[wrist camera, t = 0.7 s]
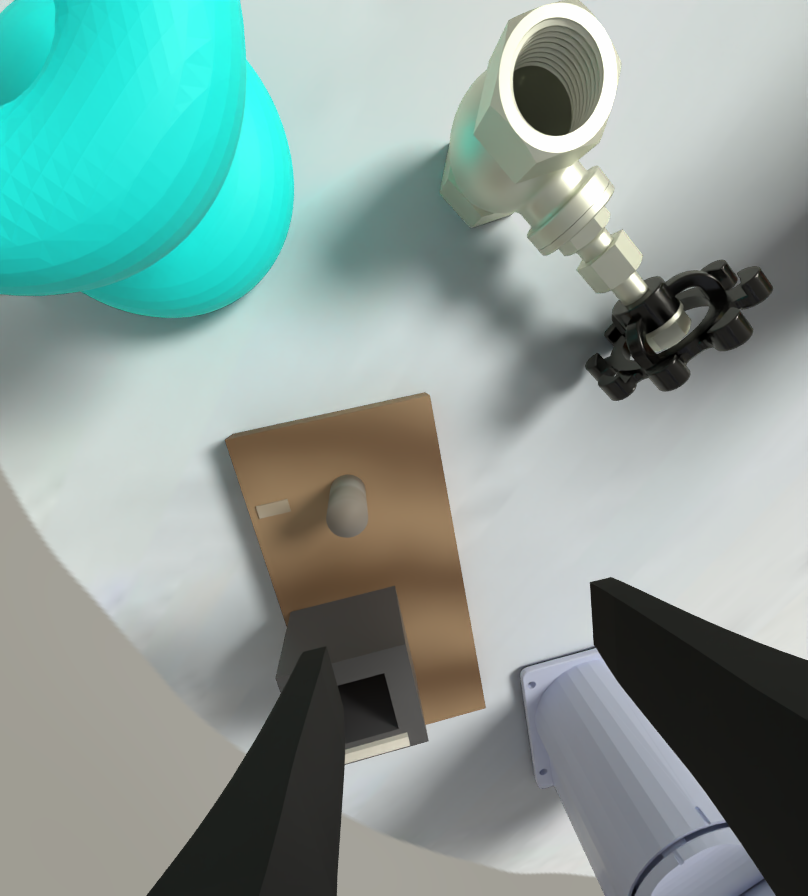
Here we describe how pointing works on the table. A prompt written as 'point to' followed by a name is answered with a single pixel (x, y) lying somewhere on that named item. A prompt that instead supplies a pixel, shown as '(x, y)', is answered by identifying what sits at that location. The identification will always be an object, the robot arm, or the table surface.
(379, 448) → the board
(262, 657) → the table surface
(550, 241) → the valve
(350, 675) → the square tube section
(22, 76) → the donuts
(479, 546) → the table surface
